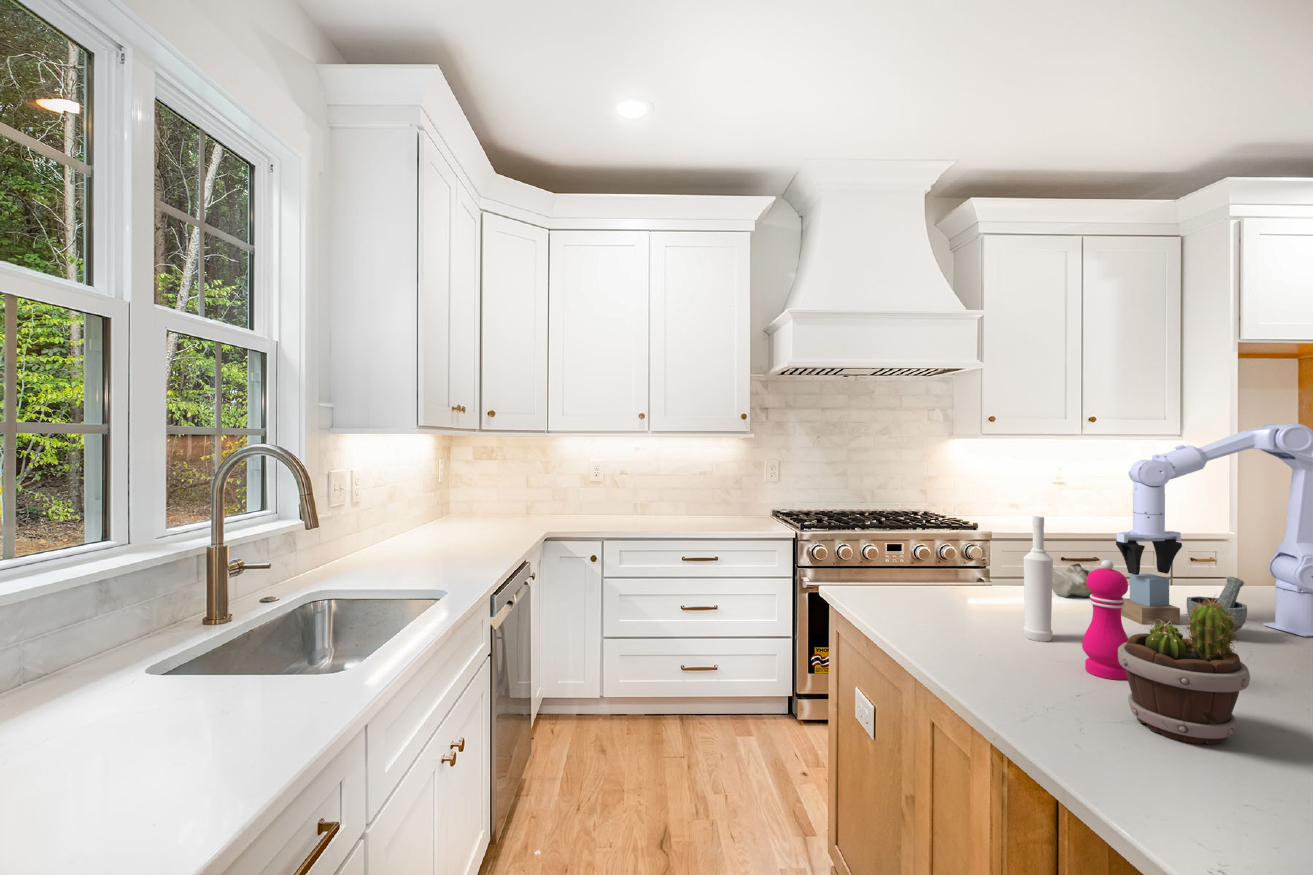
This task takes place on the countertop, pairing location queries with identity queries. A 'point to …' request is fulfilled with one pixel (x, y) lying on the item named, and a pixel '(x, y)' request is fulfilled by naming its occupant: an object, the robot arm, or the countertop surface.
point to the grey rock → (1071, 581)
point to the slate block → (1149, 589)
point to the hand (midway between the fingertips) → (1148, 573)
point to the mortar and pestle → (1225, 602)
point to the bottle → (1038, 587)
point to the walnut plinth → (1150, 613)
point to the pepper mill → (1105, 623)
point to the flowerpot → (1186, 676)
